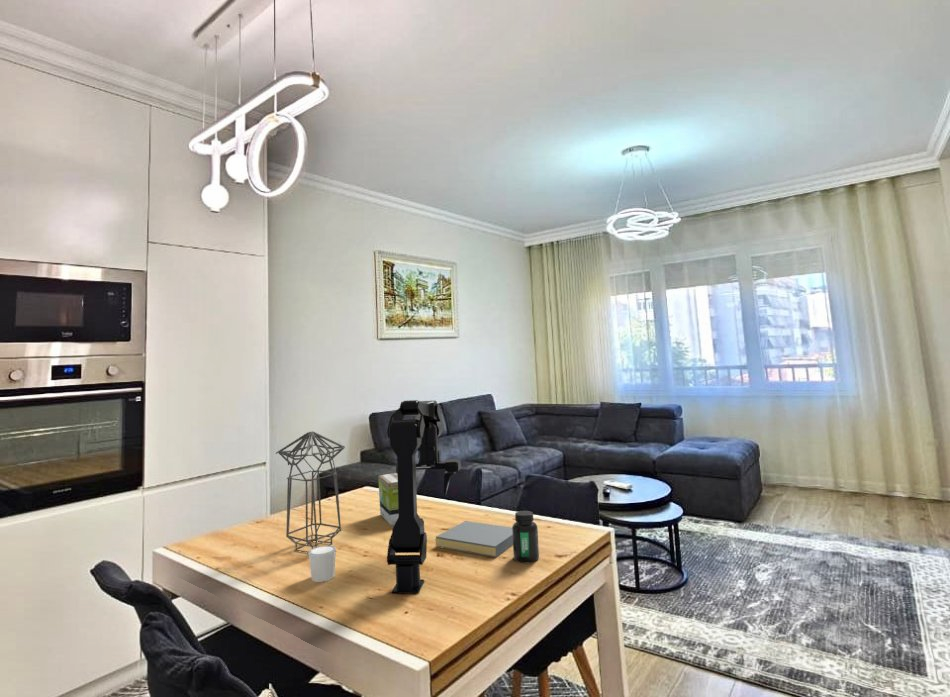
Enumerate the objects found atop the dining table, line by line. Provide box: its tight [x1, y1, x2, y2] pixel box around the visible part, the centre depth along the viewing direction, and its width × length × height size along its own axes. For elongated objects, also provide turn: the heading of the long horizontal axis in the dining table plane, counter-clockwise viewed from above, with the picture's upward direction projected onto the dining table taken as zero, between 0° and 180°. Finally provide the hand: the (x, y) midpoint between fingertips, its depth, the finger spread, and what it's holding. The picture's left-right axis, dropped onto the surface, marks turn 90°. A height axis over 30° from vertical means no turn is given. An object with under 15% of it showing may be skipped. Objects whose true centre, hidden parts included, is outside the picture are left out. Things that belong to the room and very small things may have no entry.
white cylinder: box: [307, 545, 337, 583], centre depth 126 cm, size 7×7×7 cm
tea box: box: [377, 472, 399, 526], centre depth 175 cm, size 15×10×15 cm
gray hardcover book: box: [435, 520, 513, 558], centre depth 145 cm, size 16×20×3 cm
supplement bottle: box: [511, 510, 540, 563], centre depth 132 cm, size 7×7×12 cm
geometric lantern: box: [275, 431, 346, 554], centre depth 149 cm, size 16×16×35 cm
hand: (430, 495), depth 146 cm, fingers open, 9 cm apart
